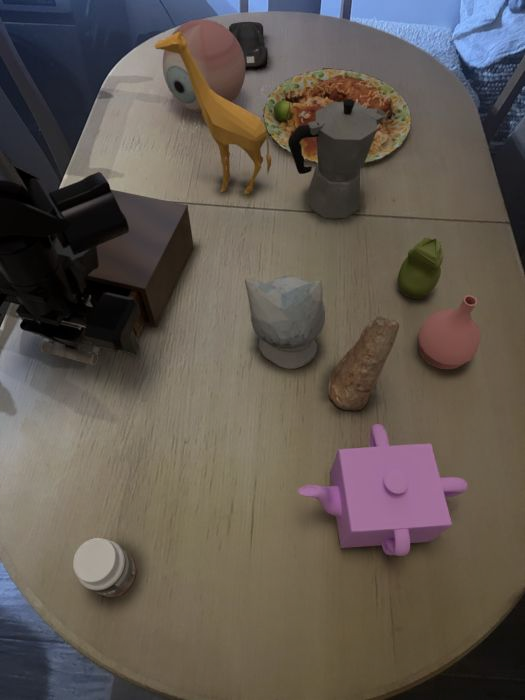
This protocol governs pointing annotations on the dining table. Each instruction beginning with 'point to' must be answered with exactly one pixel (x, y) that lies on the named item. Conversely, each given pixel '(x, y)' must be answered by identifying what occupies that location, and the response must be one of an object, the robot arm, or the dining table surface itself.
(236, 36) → the toy car
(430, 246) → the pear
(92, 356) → the drawer
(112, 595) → the pill bottle
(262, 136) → the giraffe
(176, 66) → the eyeball
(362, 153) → the coffeepot
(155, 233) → the cabinet
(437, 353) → the pink vase
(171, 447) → the dining table surface
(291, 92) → the rice dish
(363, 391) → the brown tapered rod
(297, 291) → the figurine
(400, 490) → the teapot
